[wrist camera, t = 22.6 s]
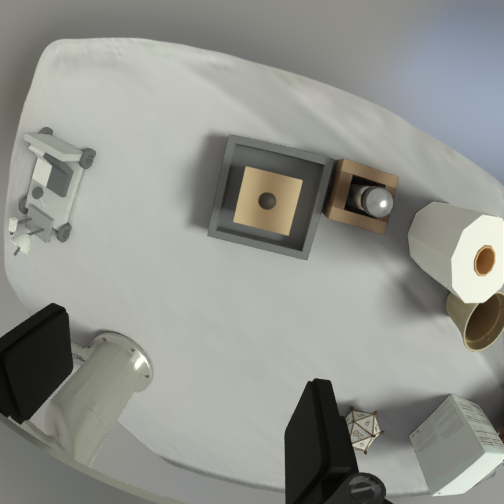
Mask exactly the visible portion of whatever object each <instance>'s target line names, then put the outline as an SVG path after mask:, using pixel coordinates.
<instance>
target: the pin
mask: <svg viewBox="0 0 504 504" xmlns="http://www.w3.org/2000/svg"><path fill="white" fill-rule="evenodd" d="M346 201H347V203H348V204H350V205H352V206H354V207H356V208H358V209H361V210H363V211H365V212H366V213H367V214H369V215H371V216H373V217H376V218H383V217H386V216H387V215H389V214H390V212H391V211H392V209H393V205H394V200H393V197H392V194H391V193H390V192H389V191H388V190H387V189H385V188H383V187H377V186H364V185H357V184H352V185H350V188H349V191H348V195H347V199H346Z"/></svg>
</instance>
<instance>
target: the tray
mask: <svg viewBox="0 0 504 504" xmlns="http://www.w3.org/2000/svg"><path fill="white" fill-rule="evenodd" d="M333 163H334V160H333V159H330V158H326V157H323V156H319V155H316V154H312V153H308V152H305V151H301V150H297V149H293V148H289V147H285V146H281V145H277V144H272V143H268V142H264V141H259V140H254V139H250V138H245V137H240V136H235V135H230V134H229V138H228V142H227V146H226V150H225V155H224V159H223V163H222V168H221V172H220V177H219V181H218V186H217V191H216V195H215V200H214V205H213V210H212V215H211V220H210V224H209V230H208V235H207V236H209V237H213V238H217V239H222V240H226V241H230V242H234V243H238V244H242V245H246V246H250V247H254V248H258V249H263V250H267V251H271V252H275V253H279V254H283V255H287V256H291V257H295V258H299V259H303V260H308V257H309V253H310V250H311V246H312V243H313V239H314V236H315V232H316V228H317V225H318V221H319V217H320V214H321V210H322V206H323V202H324V199H325V195H326V191H327V187H328V183H329V179H330V175H331V171H332V167H333ZM246 166H247V167H251V168H256V169H260V170H264V171H268V172H272V173H276V174H280V175H284V176H288V177H292V178H296V179H300V180H303V182H302V186H301V190H300V194H299V198H298V202H297V205H296V209H295V213H294V217H293V221H292V224H291V228H290V232H289V236H288V235H284V234H280V233H276V232H272V231H268V230H264V229H260V228H256V227H252V226H248V225H244V224H240V223H235V222H233V220H234V216H235V211H236V207H237V202H238V198H239V194H240V189H241V185H242V181H243V177H244V172H245V168H246Z"/></svg>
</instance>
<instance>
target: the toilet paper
mask: <svg viewBox="0 0 504 504" xmlns="http://www.w3.org/2000/svg"><path fill="white" fill-rule="evenodd" d="M407 235H408V243H409V251H410V257H411V258H412V259H413V260H414V261H415V262H416V263H417V264H418V265H419V266H420V267H421V268H422V269H423V270H424V271H425V272H426V273H428V274H429V275H430V276H432V277H433V278H434V279H435V280H437V281H438V282H439V283H441V284H442V285H443V286H444V287H446V288H447V289H448V290H449V291H451V292H452V293H453V294H454V295H456V296H457V297H458V298H459V299H460V300H462V301H463V302H464V303H484V302H485V301H486V300H488V299H489V298H490V297H491V296H492V295H493V294H494V293H496V292H497V291H498V290H499V289H500V288H501V287H502V285H503V283H504V221H503V220H502V218H500V217H497V216H493V215H490V214H486V213H483V212H479V211H475V210H472V209H468V208H464V207H460V206H456V205H452V204H447V203H441V202H434V201H433V202H431V203H430V204H428V205H427V206H425V207H424V208H422V209H421V210H420V211H418V212H417V213H416V214H415V217H414V219H413V222H412V224H411V227H410V229H409V232H408V234H407Z"/></svg>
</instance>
